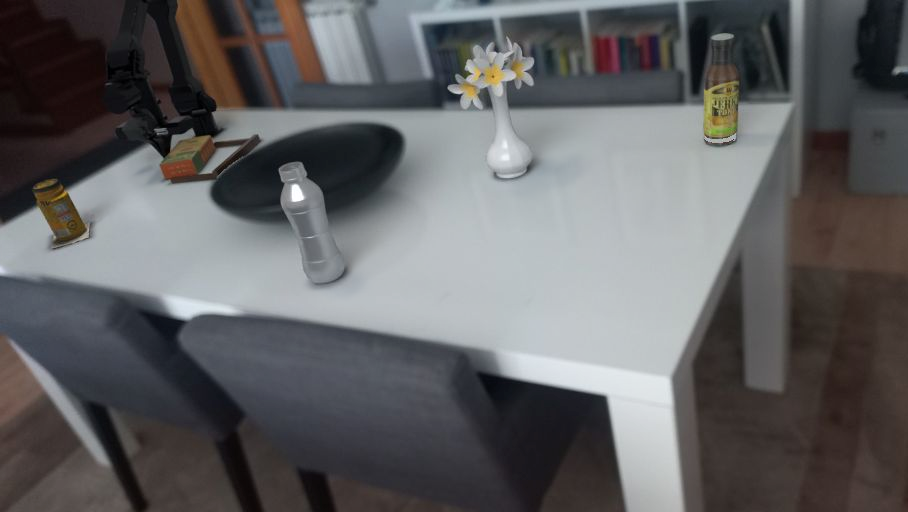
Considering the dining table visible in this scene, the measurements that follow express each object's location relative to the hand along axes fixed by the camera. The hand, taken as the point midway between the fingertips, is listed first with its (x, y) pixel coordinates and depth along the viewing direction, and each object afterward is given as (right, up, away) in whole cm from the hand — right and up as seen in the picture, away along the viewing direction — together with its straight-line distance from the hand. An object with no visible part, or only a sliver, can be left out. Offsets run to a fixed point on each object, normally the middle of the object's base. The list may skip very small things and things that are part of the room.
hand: (168, 160), depth 181 cm
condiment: (-8, -21, -27) cm, 35 cm away
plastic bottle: (+55, -30, -61) cm, 87 cm away
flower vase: (+85, -9, -38) cm, 94 cm away
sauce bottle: (+125, -4, -42) cm, 132 cm away
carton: (+6, -1, 0) cm, 6 cm away
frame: (+13, -1, -2) cm, 13 cm away
